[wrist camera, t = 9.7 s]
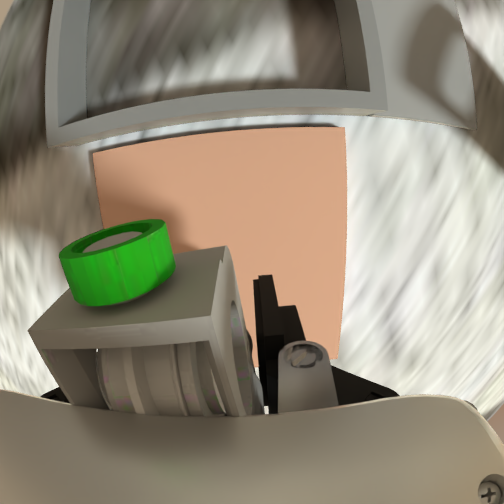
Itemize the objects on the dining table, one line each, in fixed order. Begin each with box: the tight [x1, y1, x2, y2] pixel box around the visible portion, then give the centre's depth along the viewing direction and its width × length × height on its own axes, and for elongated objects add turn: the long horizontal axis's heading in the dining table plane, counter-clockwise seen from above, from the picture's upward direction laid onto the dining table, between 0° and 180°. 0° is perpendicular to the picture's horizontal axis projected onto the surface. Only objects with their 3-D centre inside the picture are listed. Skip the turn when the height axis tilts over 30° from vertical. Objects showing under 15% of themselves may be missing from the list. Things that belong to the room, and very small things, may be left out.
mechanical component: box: [28, 219, 265, 417], centre depth 9 cm, size 3×10×10 cm, turn 9°
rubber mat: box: [93, 127, 347, 367], centre depth 16 cm, size 13×14×1 cm
